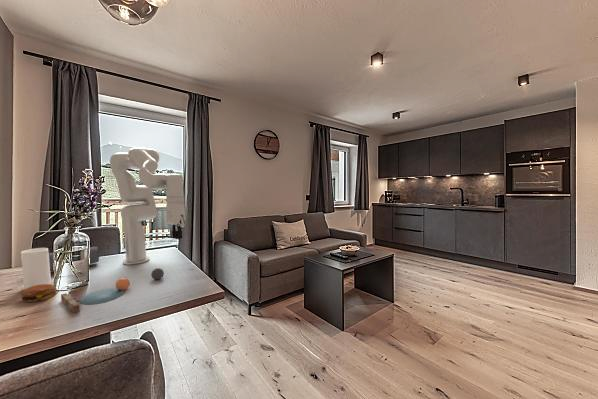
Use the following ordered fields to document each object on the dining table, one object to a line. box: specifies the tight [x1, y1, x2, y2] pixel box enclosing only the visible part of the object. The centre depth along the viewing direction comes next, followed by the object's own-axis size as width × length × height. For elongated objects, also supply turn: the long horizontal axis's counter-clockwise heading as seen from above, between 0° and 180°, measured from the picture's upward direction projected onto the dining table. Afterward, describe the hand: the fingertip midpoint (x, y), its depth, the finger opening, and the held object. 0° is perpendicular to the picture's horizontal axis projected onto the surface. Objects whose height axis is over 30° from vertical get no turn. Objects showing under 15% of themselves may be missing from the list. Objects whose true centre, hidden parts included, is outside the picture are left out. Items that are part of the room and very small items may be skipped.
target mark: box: [79, 287, 125, 305], centre depth 104 cm, size 14×14×1 cm
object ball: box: [115, 277, 131, 291], centre depth 109 cm, size 5×5×5 cm
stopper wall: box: [60, 292, 81, 314], centre depth 96 cm, size 16×2×2 cm, turn 54°
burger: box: [21, 283, 57, 303], centre depth 103 cm, size 10×9×5 cm
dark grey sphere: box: [150, 267, 165, 281], centre depth 120 cm, size 5×5×5 cm
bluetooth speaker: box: [48, 246, 100, 272], centre depth 136 cm, size 23×9×10 cm, turn 134°
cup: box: [20, 247, 52, 291], centre depth 113 cm, size 8×8×16 cm
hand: (177, 238), depth 127 cm, fingers closed
